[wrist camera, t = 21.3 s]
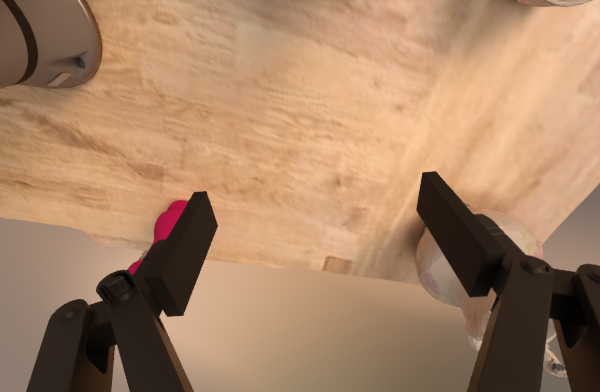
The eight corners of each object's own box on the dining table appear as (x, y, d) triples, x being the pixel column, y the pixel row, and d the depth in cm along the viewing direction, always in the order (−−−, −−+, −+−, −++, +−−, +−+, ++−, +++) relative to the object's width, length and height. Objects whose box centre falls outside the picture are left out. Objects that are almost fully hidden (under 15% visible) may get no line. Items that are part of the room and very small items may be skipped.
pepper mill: (164, 221, 54) (103, 312, 38) (169, 192, 51) (104, 279, 34) (200, 231, 56) (158, 324, 39) (208, 204, 52) (165, 293, 35)
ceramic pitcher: (523, 222, 56) (672, 335, 34) (450, 281, 64) (535, 405, 42) (452, 170, 50) (580, 269, 28) (380, 242, 57) (438, 365, 36)
